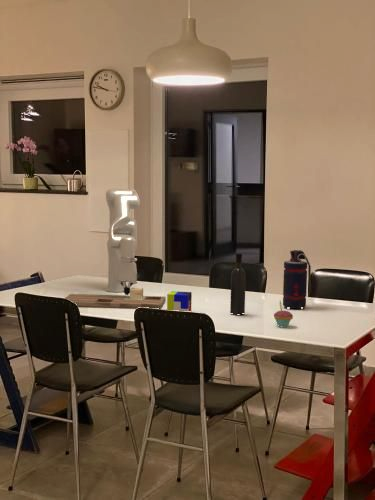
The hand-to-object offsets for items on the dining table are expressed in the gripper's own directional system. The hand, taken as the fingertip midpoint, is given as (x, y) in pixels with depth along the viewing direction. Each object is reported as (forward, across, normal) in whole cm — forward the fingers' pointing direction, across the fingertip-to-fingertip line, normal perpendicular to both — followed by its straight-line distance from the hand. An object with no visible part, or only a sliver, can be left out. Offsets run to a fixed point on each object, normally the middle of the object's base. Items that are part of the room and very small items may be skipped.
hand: (126, 294), depth 357 cm
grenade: (+4, -89, +2) cm, 89 cm away
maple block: (+2, -5, +1) cm, 6 cm away
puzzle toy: (+4, -30, +26) cm, 40 cm away
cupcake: (+5, -79, +49) cm, 93 cm away
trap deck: (+4, +6, +6) cm, 9 cm away
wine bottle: (+4, -59, +24) cm, 64 cm away
